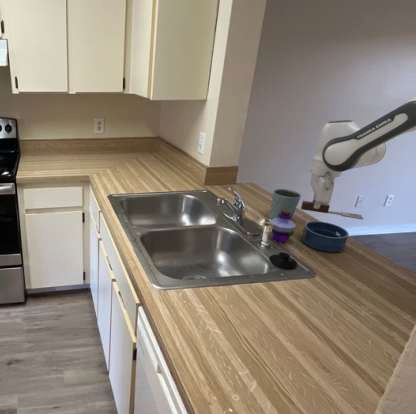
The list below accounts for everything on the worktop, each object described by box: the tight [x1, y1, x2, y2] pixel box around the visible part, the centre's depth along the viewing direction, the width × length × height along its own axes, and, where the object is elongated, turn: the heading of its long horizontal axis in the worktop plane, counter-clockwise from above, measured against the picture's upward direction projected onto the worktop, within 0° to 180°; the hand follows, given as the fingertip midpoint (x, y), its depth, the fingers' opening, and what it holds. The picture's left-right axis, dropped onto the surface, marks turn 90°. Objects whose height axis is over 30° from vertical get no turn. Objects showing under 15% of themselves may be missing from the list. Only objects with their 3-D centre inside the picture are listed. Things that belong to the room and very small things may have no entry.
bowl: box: [300, 220, 349, 253], centre depth 120 cm, size 13×13×6 cm
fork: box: [300, 200, 364, 220], centre depth 115 cm, size 18×3×3 cm, turn 64°
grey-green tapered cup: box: [268, 188, 302, 222], centre depth 138 cm, size 10×10×12 cm
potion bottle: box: [270, 209, 297, 244], centre depth 122 cm, size 9×9×12 cm
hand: (315, 206), depth 117 cm, fingers closed on fork, 2 cm apart
